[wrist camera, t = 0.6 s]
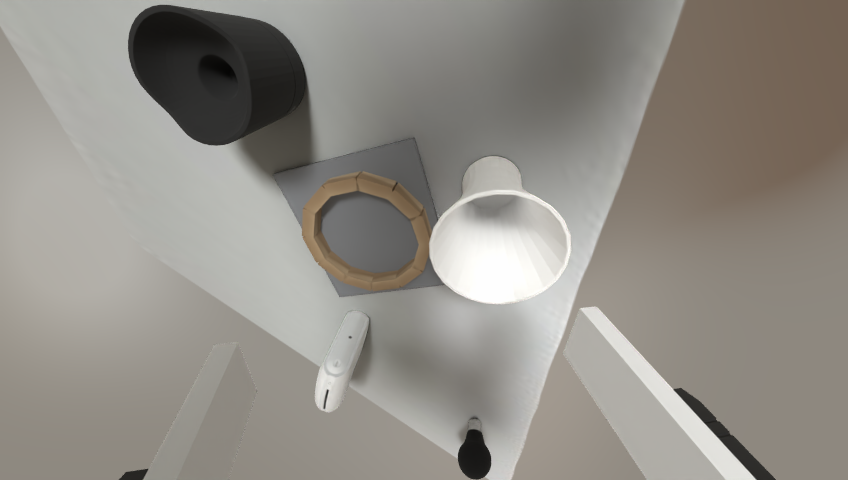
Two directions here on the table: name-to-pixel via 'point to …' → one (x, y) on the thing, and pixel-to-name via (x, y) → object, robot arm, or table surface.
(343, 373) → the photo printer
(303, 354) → the table surface
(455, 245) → the cup
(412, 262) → the collar ring
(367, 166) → the collar mat
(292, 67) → the pen holder
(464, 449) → the light bulb
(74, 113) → the table surface
